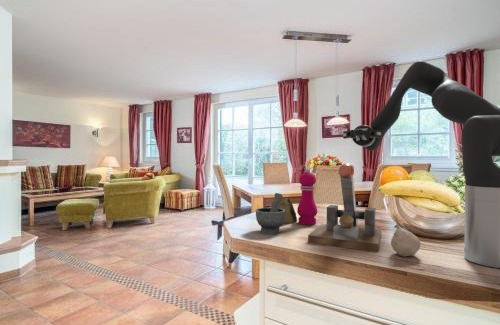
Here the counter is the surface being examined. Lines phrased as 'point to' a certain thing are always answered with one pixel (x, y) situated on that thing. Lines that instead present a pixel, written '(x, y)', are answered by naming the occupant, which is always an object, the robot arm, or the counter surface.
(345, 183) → the lever
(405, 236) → the garlic bulb
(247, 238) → the counter surface
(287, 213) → the rock
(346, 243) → the cracker base
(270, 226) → the mortar and pestle
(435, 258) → the counter surface
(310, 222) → the pepper mill
